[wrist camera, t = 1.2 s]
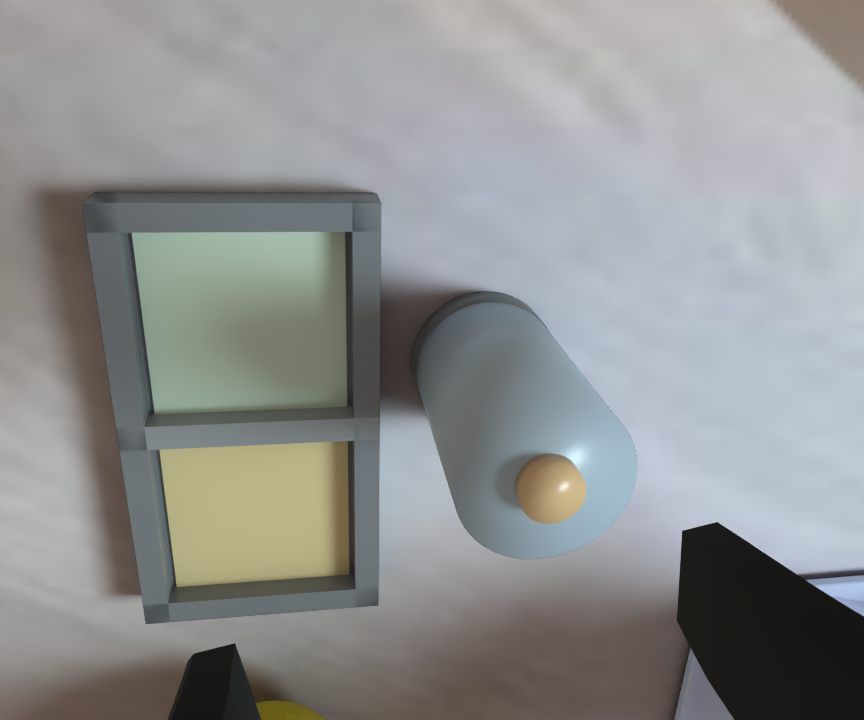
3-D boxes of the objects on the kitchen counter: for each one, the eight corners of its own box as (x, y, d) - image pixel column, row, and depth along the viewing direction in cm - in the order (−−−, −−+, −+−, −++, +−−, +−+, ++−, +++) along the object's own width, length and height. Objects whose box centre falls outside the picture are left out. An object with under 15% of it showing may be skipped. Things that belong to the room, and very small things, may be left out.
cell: (555, 290, 21) (661, 403, 15) (541, 416, 23) (633, 567, 17) (413, 292, 21) (461, 412, 14) (410, 422, 22) (452, 581, 16)
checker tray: (376, 193, 20) (381, 203, 18) (375, 579, 25) (378, 605, 23) (94, 192, 18) (81, 203, 17) (153, 596, 24) (145, 623, 22)
